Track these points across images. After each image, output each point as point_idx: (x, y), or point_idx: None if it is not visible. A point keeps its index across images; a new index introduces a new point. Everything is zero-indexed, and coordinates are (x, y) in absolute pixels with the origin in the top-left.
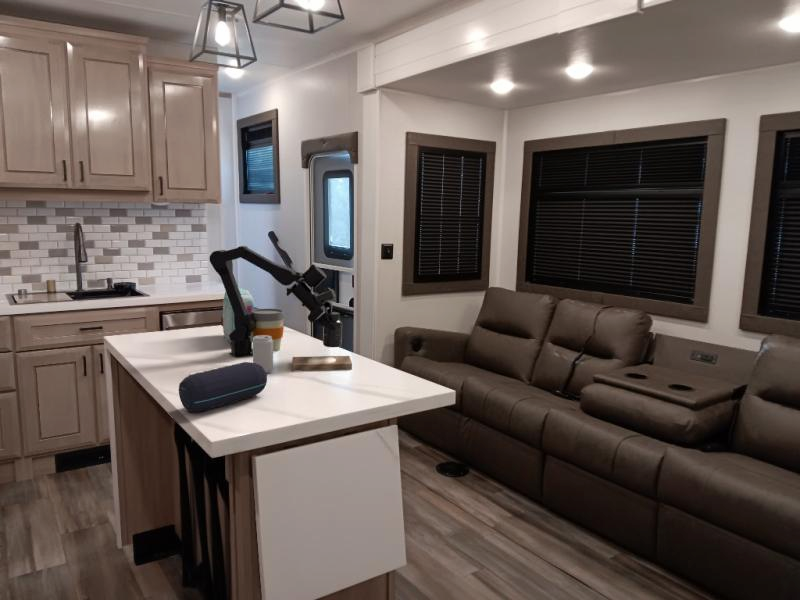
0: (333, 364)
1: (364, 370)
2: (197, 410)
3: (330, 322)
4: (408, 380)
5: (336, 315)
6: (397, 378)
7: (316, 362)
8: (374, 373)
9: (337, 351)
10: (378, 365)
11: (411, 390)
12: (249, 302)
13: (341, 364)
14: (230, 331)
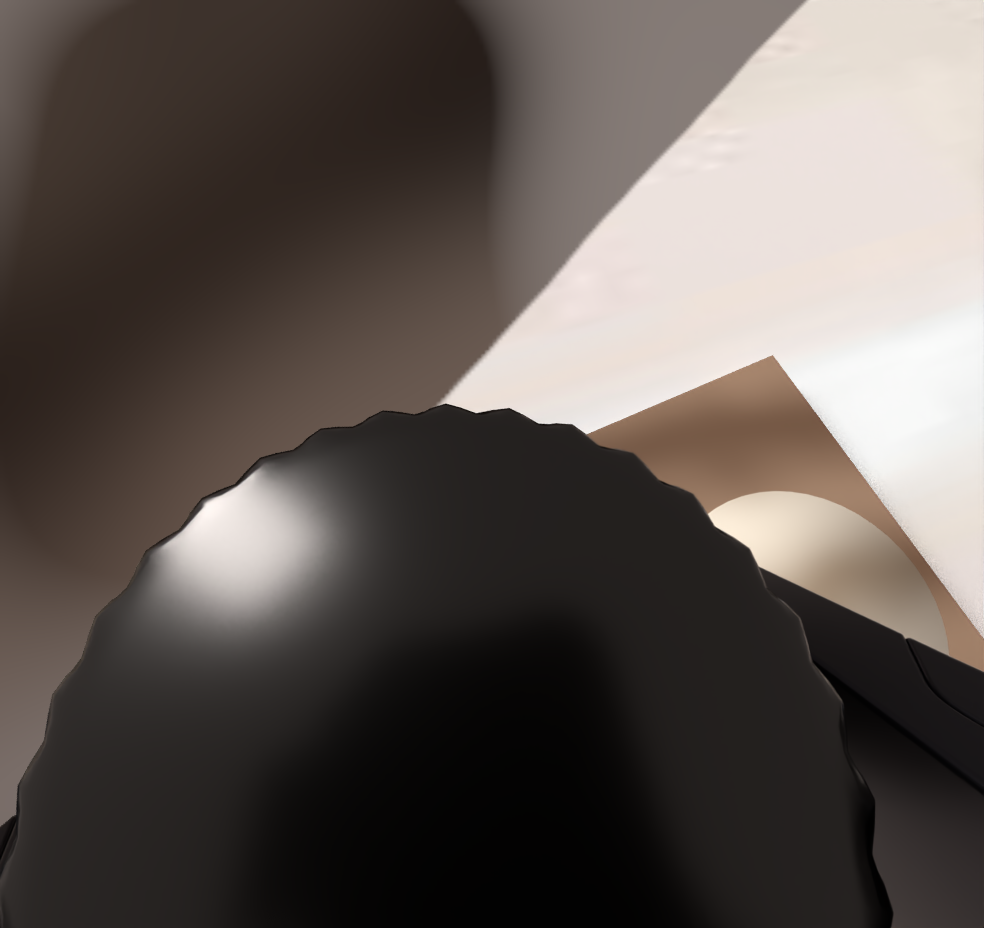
0: (860, 476)
1: (730, 304)
2: None
3: (866, 626)
4: (797, 81)
5: (640, 483)
6: (792, 125)
7: (907, 635)
8: (764, 239)
9: None
10: (580, 268)
11: (946, 39)
12: None
13: (817, 422)
14: None
